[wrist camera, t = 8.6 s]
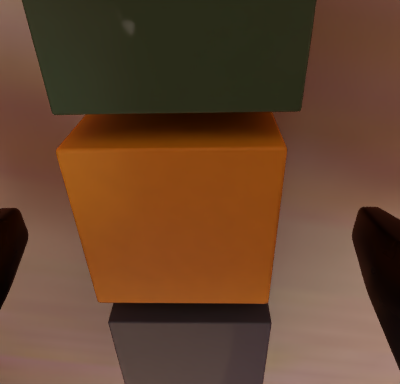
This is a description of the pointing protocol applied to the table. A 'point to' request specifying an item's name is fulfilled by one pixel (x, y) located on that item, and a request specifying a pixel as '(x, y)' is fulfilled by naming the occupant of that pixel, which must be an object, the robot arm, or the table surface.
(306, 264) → the table surface
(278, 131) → the mustard block
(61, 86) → the green block
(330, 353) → the table surface
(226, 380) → the slate block
